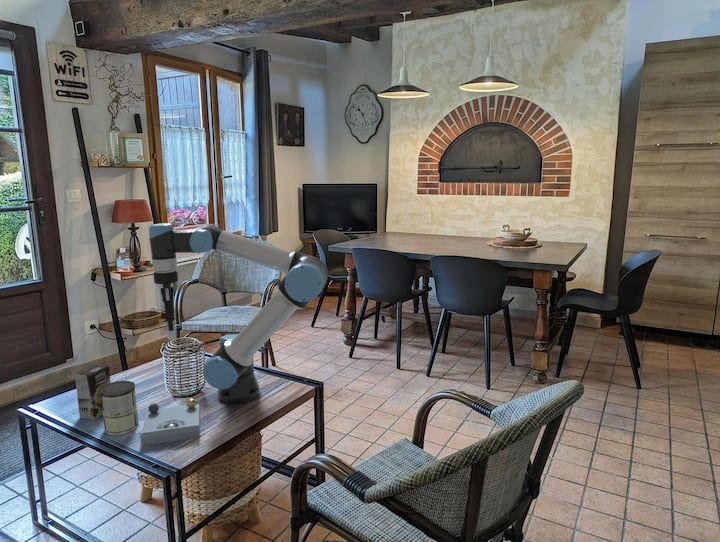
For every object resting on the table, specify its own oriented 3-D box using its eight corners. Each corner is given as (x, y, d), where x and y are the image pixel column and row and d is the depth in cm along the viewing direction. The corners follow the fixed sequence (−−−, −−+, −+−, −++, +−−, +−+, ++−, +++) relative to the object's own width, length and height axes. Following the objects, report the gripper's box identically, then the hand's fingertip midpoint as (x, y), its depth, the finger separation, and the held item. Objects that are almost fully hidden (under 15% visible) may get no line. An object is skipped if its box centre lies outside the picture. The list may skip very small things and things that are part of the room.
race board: (199, 410, 178) (198, 398, 177) (199, 437, 160) (198, 424, 159) (147, 417, 173) (146, 405, 172) (141, 446, 155) (140, 433, 154)
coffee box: (94, 420, 171) (89, 375, 167) (79, 418, 172) (73, 373, 169) (114, 408, 179) (109, 365, 176) (99, 405, 181) (94, 363, 178)
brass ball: (196, 405, 176) (195, 396, 175) (196, 409, 173) (195, 400, 172) (186, 406, 175) (186, 397, 174) (186, 410, 172) (185, 401, 171)
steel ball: (173, 425, 164) (179, 423, 163) (172, 435, 163) (178, 434, 161) (164, 424, 162) (170, 422, 160) (163, 434, 161) (169, 433, 159)
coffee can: (98, 428, 165) (93, 388, 163) (129, 416, 173) (125, 377, 170) (113, 439, 159) (108, 397, 156) (144, 426, 167) (141, 386, 164)
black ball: (159, 409, 172) (158, 401, 172) (158, 414, 169) (158, 405, 169) (149, 411, 172) (148, 402, 171) (148, 415, 169) (147, 406, 168)
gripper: (153, 268, 172) (160, 334, 177) (152, 275, 160) (159, 346, 165) (177, 266, 175) (183, 331, 179) (177, 273, 163) (184, 343, 167)
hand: (172, 338), depth 172 cm, fingers closed
